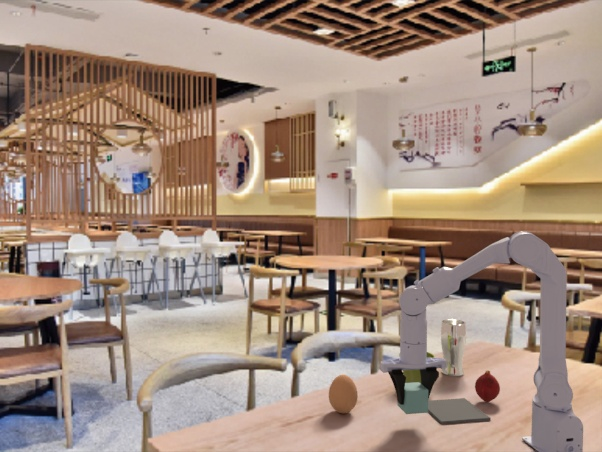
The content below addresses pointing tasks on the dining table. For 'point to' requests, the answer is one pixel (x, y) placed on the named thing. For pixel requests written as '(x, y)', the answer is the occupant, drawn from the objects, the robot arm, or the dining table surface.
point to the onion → (487, 387)
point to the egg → (343, 394)
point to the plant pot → (415, 372)
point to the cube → (415, 398)
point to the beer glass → (453, 346)
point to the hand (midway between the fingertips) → (412, 402)
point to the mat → (455, 411)
